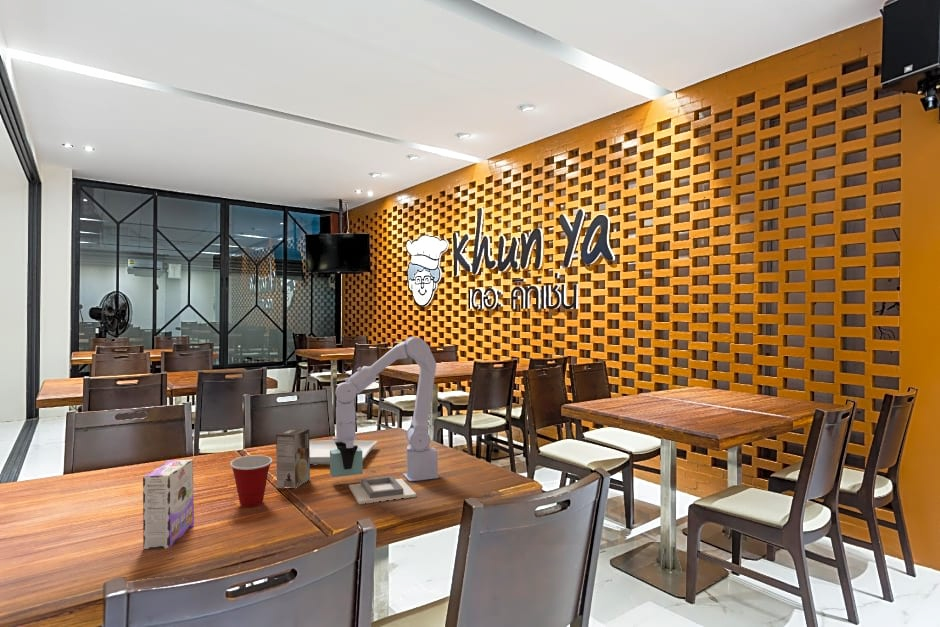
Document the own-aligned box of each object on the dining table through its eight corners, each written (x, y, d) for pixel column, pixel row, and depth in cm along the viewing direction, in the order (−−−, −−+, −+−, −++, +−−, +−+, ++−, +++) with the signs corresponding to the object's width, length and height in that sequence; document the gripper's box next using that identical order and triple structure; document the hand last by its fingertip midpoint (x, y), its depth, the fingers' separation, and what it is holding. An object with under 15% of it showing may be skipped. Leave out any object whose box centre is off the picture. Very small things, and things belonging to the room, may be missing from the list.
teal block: (359, 469, 176) (359, 447, 176) (362, 473, 172) (362, 450, 172) (330, 473, 173) (329, 450, 173) (332, 477, 168) (332, 453, 168)
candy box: (169, 526, 138) (169, 459, 138) (194, 525, 139) (194, 458, 139) (142, 550, 124) (141, 475, 124) (169, 548, 125) (169, 474, 125)
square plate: (364, 468, 190) (364, 456, 190) (283, 468, 190) (283, 457, 190) (378, 449, 217) (378, 438, 217) (307, 449, 217) (307, 439, 217)
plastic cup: (232, 513, 147) (231, 467, 147) (228, 501, 156) (228, 458, 156) (275, 506, 152) (275, 461, 152) (269, 495, 161) (269, 453, 161)
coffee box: (291, 479, 177) (291, 428, 176) (310, 480, 175) (310, 428, 175) (275, 488, 168) (275, 434, 168) (295, 489, 166) (295, 435, 166)
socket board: (401, 481, 174) (401, 473, 174) (416, 496, 159) (416, 488, 159) (349, 487, 168) (349, 479, 168) (359, 504, 153) (359, 495, 153)
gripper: (329, 419, 178) (329, 462, 178) (336, 427, 164) (336, 474, 164) (351, 417, 180) (352, 459, 180) (360, 425, 167) (360, 471, 167)
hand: (346, 466), depth 172 cm, fingers closed on teal block, 5 cm apart
